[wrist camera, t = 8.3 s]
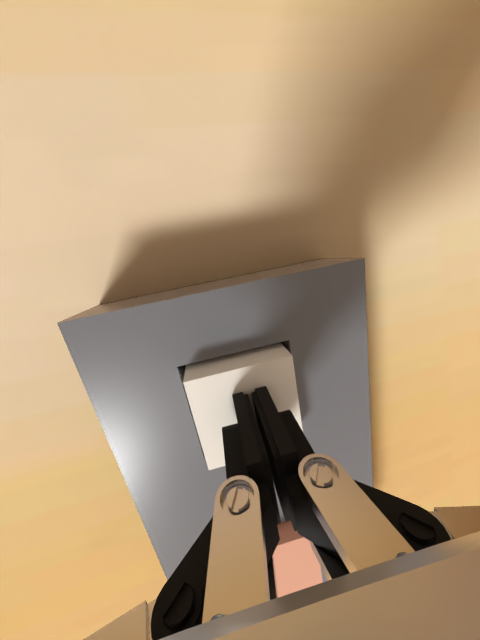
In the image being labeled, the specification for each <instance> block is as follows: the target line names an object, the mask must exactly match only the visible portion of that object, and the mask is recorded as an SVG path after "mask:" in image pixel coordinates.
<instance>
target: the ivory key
mask: <svg viewBox="0 0 480 640" xmlns="http://www.w3.org/2000/svg"><path fill="white" fill-rule="evenodd" d="M183 384H184V387H185V391H186V394H187V398H188V401H189V404H190V408H191V411H192V415H193V418H194V422H195V425H196V428H197V432H198V435H199V439H200V442H201V446H202V449H203V452H204V456H205V459H206V463H207V466H208V470H212V469H216V468H219V467H223V466H225V457H224V446H223V436H222V427H225V426H229V425H233V424H236V423H238V422H237V417H236V412H235V407H234V402H233V397H232V394H236V393H240V392H243V394H244V395H245V394H248V395H249V398H250V402H251V405H252V408H253V411H254V414H255V409H254V404H253V399H252V394H251V393H252V392H255V389H256V388H259V387H263V386H266V387H267V389H268V391H269V393H270V395H271V398H272V400H273V402H274V404H275V406H276V408H277V410H278V412H282V411H286V410H291V412H292V414H293V415H294V417H295V419H296V421H297V422H298V424H299V426H300V428H301V429H302V422H301V414H300V407H299V400H298V393H297V385H296V378H295V371H294V364H293V356H292V355H291V353H290V352H289V351H288V350H287V349H286V348H285V347H284V346H283V345H282V344H281V343H280V342H278V343H274V344H270V345H266V346H262V347H258V348H253V349H249V350H245V351H241V352H237V353H233V354H228V355H224V356H220V357H216V358H212V359H208V360H203V361H199V362H195V363H191V364H187V365H186V368H185V374H184V380H183ZM255 417H256V414H255ZM256 420H257V419H256ZM302 431H303V429H302Z"/></svg>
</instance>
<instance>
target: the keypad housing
mask: <svg viewBox="0 0 480 640" xmlns="http://www.w3.org/2000/svg"><path fill="white" fill-rule="evenodd" d="M58 326H59V328H60V330H61V333H62V335H63V337H64V340H65V342H66V344H67V347H68V349H69V351H70V354H71V356H72V358H73V361H74V363H75V365H76V368H77V370H78V372H79V375H80V377H81V379H82V382H83V384H84V386H85V389H86V391H87V393H88V396H89V398H90V400H91V403H92V405H93V407H94V410H95V412H96V414H97V417H98V419H99V421H100V424H101V426H102V428H103V431H104V433H105V435H106V438H107V440H108V442H109V445H110V447H111V449H112V452H113V454H114V456H115V459H116V461H117V463H118V466H119V468H120V470H121V473H122V475H123V477H124V480H125V482H126V484H127V487H128V489H129V491H130V494H131V496H132V498H133V501H134V503H135V505H136V508H137V510H138V512H139V515H140V517H141V519H142V522H143V524H144V526H145V529H146V531H147V533H148V536H149V538H150V540H151V543H152V545H153V547H154V550H155V552H156V554H157V557H158V559H159V561H160V564H161V566H162V568H163V571H164V573H165V575H166V578H167V580H168V579H169V578H170V577H171V575H172V574H173V572H174V571H175V569H176V568H177V567H178V565H179V564H180V562H181V561H182V559H183V558H184V557H185V555H186V554H187V552H188V551H189V550H190V548H191V547H192V545H193V544H194V542H195V541H196V540H197V538H198V537H199V535H200V534H201V533H202V531H203V530H204V528H205V527H206V525H207V524H208V523H209V521H210V520H211V518H212V517H213V513H214V504H215V497H216V493H217V491H218V489H219V487H220V486H221V485H222V484H223V483H224V481H226V480H227V477H226V467H225V466H223V467H219V468H216V469H212V470H208V466H207V463H206V459H205V456H204V452H203V449H202V446H201V442H200V439H199V435H198V432H197V428H196V425H195V422H194V418H193V415H192V411H191V408H190V404H189V401H188V398H187V394H186V391H185V387H184V384H183V380H184V374H185V368H186V365H187V364H191V363H195V362H199V361H203V360H208V359H212V358H216V357H220V356H224V355H228V354H233V353H237V352H241V351H245V350H249V349H253V348H258V347H262V346H266V345H270V344H274V343H278V342H280V343H281V344H282V345H283V346H284V347H285V348H286V349H287V350H288V351H289V352H290V353H291V355H292V356H293V364H294V371H295V378H296V385H297V393H298V400H299V407H300V414H301V422H302V429H303V433H304V435H305V437H306V438H307V440H308V442H309V444H310V445H311V447H312V449H313V451H314V452H315V454H319V453H321V454H325V455H328V456H330V457H332V458H334V459H335V460H336V461H337V462H338V463H339V464H340V465H341V466H342V467H343V469H344V470H345V471H346V472H347V473H348V474H349V475H350V477H351V478H352V479H353V480H356V481H358V482H361V483H363V484H366V485H368V486H371V487H373V472H372V446H371V420H370V393H369V367H368V341H367V314H366V288H365V261H364V258H323V259H318V260H313V261H308V262H304V263H299V264H294V265H289V266H284V267H279V268H275V269H270V270H265V271H260V272H255V273H251V274H246V275H241V276H236V277H231V278H226V279H222V280H217V281H212V282H207V283H202V284H198V285H193V286H188V287H183V288H178V289H173V290H169V291H164V292H159V293H154V294H149V295H145V296H140V297H135V298H130V299H125V300H120V301H116V302H111V303H106V304H101V305H97V306H95V307H93V308H91V309H88V310H86V311H84V312H81V313H79V314H77V315H75V316H72V317H70V318H68V319H65V320H63V321H61V322H58ZM274 488H275V486H274ZM275 493H276V498H277V503H278V508H279V514H280V519H281V522H284V521H285V518H284V515H283V512H282V509H281V505H280V502H279V499H278V496H277V492H276V489H275ZM321 573H322V580H323V582H326V581H328V580H327V578H326V576H325V574H324V572H323V570H322V568H321Z"/></svg>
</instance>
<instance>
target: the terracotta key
mask: <svg viewBox="0 0 480 640" xmlns="http://www.w3.org/2000/svg"><path fill="white" fill-rule="evenodd" d="M277 527H278V532H279V537H280V540H279V542H278V545H277V547H276V549H275V551H274V554H273V558H274V564H275V573H276V582H277V592H278V598H279V597H282V596H285V595H287V594H290V593H293V592H296V591H299V590H302V589H305V588H308V587H311V586H314V585H317V584H320V583H323V580H322V573H321V566H320V564H319V562H318V560H317V558H316V556H315V554H314V552H313V550H312V548H311V545H310V543H309V540H308V539H306V538H305V537H303V536H301V535H300V534H298V532H297V531H294V528H293V525H292V522H291V521H288V522H286V521H284V522H281V524H278V525H277Z"/></svg>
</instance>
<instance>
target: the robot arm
mask: <svg viewBox="0 0 480 640" xmlns="http://www.w3.org/2000/svg"><path fill="white" fill-rule="evenodd" d="M251 394H252V399H253V404H254V409H255V414H256V417H255V414H254V411H253V408H252V405H251V402H250V398H249V395H248V394H245V395H244V394H243V392H240V393H236V394H232V397H233V402H234V407H235V412H236V417H237V422H238V423H236V424H233V425H229V426H225V427H222V436H223V446H224V457H225V467H226V477H227V480H226V481H224V483H223V484H222V485H221V486H220V487H219V489H218V491H217V493H216V497H215V504H214V513H213V517H212V518H211V520H210V521H209V523H208V524H207V525H206V527H205V528H204V530H203V531H202V533H201V534H200V535H199V537H198V538H197V540H196V541H195V542H194V544H193V545H192V547H191V548H190V550H189V551H188V552H187V554H186V555H185V557H184V558H183V559H182V561H181V562H180V564H179V565H178V567H177V568H176V569H175V571H174V572H173V574H172V575H171V577H170V578H169V579H168V581H167V582H166V584H165V585H164V586H163V588H162V590H161V592H160V593H159V595H158V597H157V599H155V600H153V601H152V602H150V603H149V604H147V602H146V601H144V602H142V603H141V604H139V605H138V606H136V607H134V608H133V609H131V610H130V611H128V612H126V613H125V614H123V615H122V616H120V617H119V618H117V619H115V620H114V621H112V622H111V623H109V624H107V625H106V626H104V627H103V628H101V629H100V630H98V631H96V632H95V633H93V634H92V635H90V636H88V637H87V638H85V639H84V640H480V506H462V507H434V511H432V512H428V511H427V510H425V509H423V508H421V507H419V506H417V505H415V504H412V503H410V502H407V501H405V500H402V499H400V498H398V497H395V496H393V495H390V494H388V493H385V492H383V491H380V490H378V489H375V488H373V487H371V486H368V485H366V484H363V483H361V482H358V481H356V480H353V479H352V478H351V477H350V475H349V474H348V473H347V472H346V471H345V470H344V469H343V467H342V466H341V465H340V464H339V463H338V462H337V461H336V460H335V459H334V458H332V457H330V456H328V455H325V454H321V453H319V454H315V452H314V451H313V449H312V447H311V445H310V444H309V442H308V440H307V438H306V437H305V435H304V433H303V431H302V429H301V428H300V426H299V424H298V422H297V421H296V419H295V417H294V415H293V414H292V412H291V410H286V411H282V412H278V410H277V408H276V406H275V404H274V402H273V400H272V398H271V395H270V393H269V391H268V389H267V387H266V386H263V387H259V388H256V389H255V392H252V393H251ZM256 419H257V420H256ZM274 486H275V488H274ZM275 489H276V492H277V496H278V499H279V502H280V505H281V509H282V512H283V515H284V518H285V521H286V522H288V521H291V522H292V525H293V528H294V531H297V532H298V534H300V535H301V536H303V537H305V538H306V539H308V540H309V543H310V545H311V548H312V550H313V552H314V554H315V556H316V558H317V560H318V562H319V564H320V566H321V568H322V570H323V572H324V574H325V576H326V578H327V580H328V581H326V582H323V583H320V584H317V585H314V586H311V587H308V588H305V589H302V590H299V591H296V592H293V593H290V594H287V595H285V596H282V597H279V598H278V592H277V582H276V573H275V564H274V558H273V554H274V551H275V549H276V547H277V545H278V542H279V540H280V537H279V532H278V527H277V525H278V524H281V519H280V514H279V508H278V503H277V498H276V493H275Z"/></svg>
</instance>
